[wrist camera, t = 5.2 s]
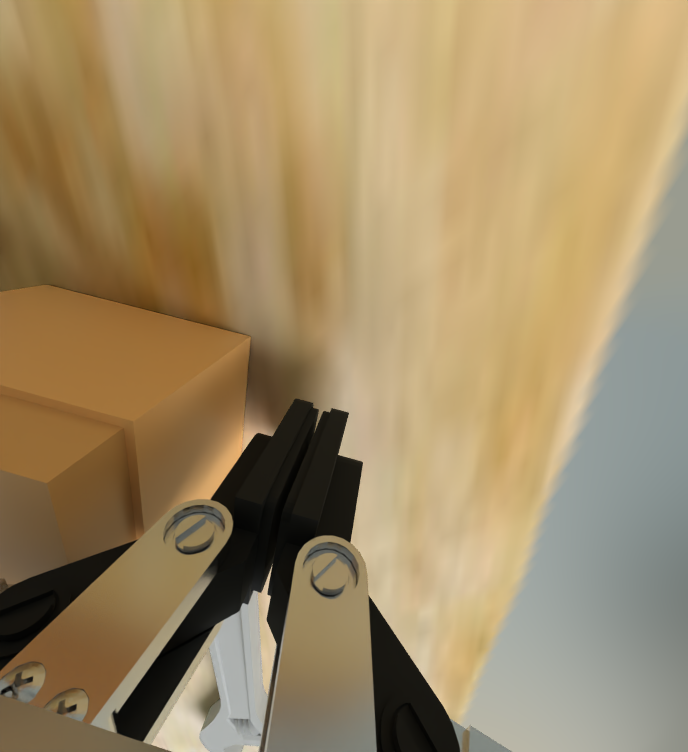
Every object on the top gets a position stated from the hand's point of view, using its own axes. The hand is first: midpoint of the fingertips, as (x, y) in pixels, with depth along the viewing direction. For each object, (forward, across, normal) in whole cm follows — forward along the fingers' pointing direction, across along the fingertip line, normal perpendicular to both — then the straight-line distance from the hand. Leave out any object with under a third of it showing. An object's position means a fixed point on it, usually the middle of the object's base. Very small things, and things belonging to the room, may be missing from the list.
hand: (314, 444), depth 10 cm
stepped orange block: (+1, +6, 0) cm, 6 cm away
